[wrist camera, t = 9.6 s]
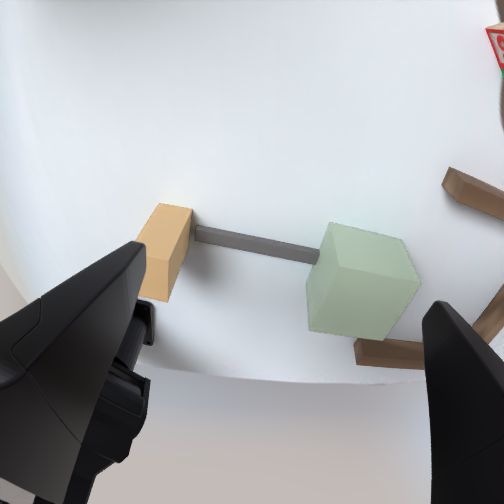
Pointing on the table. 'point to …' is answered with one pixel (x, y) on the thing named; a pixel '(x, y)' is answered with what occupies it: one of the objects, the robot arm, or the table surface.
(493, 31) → the stack of blocks
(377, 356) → the frame
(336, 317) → the block dumbbell
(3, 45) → the table surface
